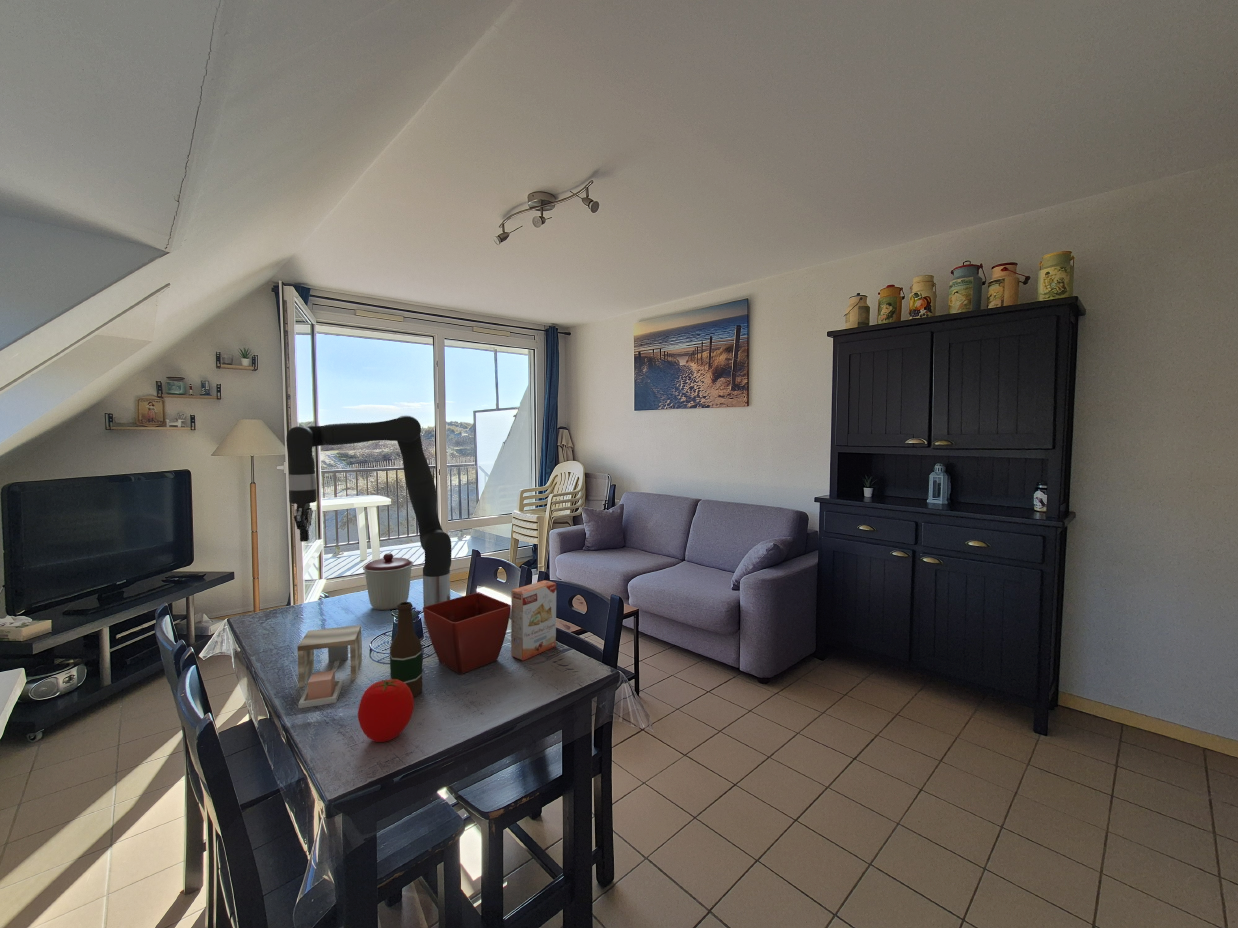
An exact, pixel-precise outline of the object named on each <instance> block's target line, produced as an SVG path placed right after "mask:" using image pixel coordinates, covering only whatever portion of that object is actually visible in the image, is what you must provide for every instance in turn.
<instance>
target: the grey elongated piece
mask: <svg viewBox="0 0 1238 928" xmlns="http://www.w3.org/2000/svg"><path fill="white" fill-rule="evenodd" d="M327 651H328V652H327V654H328V655H327V658H328V660H327V661H328V663H330V662H334V664H333V666H332V668H331V670H330V671H332V670H335V673H336V672H337V669H338V667H339V665H340V662H341V661H346V660H349V645H348V646H339V647H331V648H327ZM344 683H345V682H344V678H342V679H335V691H334V693H333V695H332V697H327V698H321V699H314V700H308V686H306V688H305V691H304V692H303V694H302V695H301V698H300V700H299V702H298V705H297V706H298V709H303V708H309V707H311V708H312V707H317V706H323V705H328V704H336V703H337V701H338V698H339V696H340V693H341V691H342V688H343V686H344Z"/></svg>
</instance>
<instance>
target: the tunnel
mask: <svg viewBox="0 0 1238 928" xmlns="http://www.w3.org/2000/svg"><path fill="white" fill-rule="evenodd" d="M362 643H363V642H362V625H361V624H355V625H349V626H339V627H329V628H319V629H313V630H307V632H306V633H305V635H304V637H302V639H301V640H300V642H299V643H298V645H297V646H296V647H297V671H298V673H297V674H298V675H297V676H298V688H302V687H303V688H304V687H305V686H306V684H307V683H308V681H309V679H310V677H311V675H312V673H313V671H314V669H315V650H322V649H328V648H331V647H339V646H348V647H349V649H350V650H349V653H350V654H349V655H350V659H349V661H350V680H355V679H357V677H358V674H359V672H360V668H361V666H362V663H363V647H362V646H363V644H362Z"/></svg>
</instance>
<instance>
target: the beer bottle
mask: <svg viewBox="0 0 1238 928" xmlns="http://www.w3.org/2000/svg"><path fill="white" fill-rule="evenodd" d="M412 608H413V604H412V602H411V601H407V602H402V603H400V604H398V606H397V608H396V609H397V610H398V611H397V629H396V634H395V636H394V638H393V639H392V640H391V643H390V647H389V672H390V676H389V677H390V678H389V679H397V680H400V681H402V682H404V683H405V684H406V685H407V686H408V687H409V688H410V690H411V692H412V695H413V698H416V697H417V696H418V695H419V694H421V692H422V691H423V659H422V658H423V651H422V650H423V649H422V643H421V640H420V639H419V638H420V637H418V635H417V634H416V633H415V629H414V622H413V613H412V610H413V609H412Z"/></svg>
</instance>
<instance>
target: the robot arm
mask: <svg viewBox="0 0 1238 928" xmlns="http://www.w3.org/2000/svg"><path fill="white" fill-rule="evenodd" d="M421 433H422V426H421V423H420V422H419V420H418V419H417V418H415V417H414V416H412V415H409V414H408V415H407V414H406V415H400V416H398V417H396V418H392V419H389V420H384V421H383V420H382V421H376V422H375V421H373V422H344V423H343V422H342V423H330V424H324V425H312V426H311V425H306V426H303V425H302V426H300V425H299V426H298V425H297V426H294V427H292V428H290V429H289V430H288V431H287V433H286V448H287V454H288V459H289V461H288V470H289V474H288V475H289V477H288V499H289V503H290V504H291V505H292V504H293V505H296V509H294V514H295V515H294V516H293V518H294V523H295V527H296V530H298V531H299V541H300V542H301V543H303V542H304V543H305V542H308V541H309V540H310V531H309V530H310V527H311V526H312V520H313V513H314V511H313V508H312V507H311V504H312V503H313V504H315V503H316V502H317V501H318V497H317V494H318V493H317V480H316V479H317V478H316V469H315V468H316V465H315V458H314V457H313V447H321V446H341V445H351V444H352V445H353V444H359V443H368V442H375V441H377V442H379V441H393V442H394V441H395V442H397V445H398V448H399V451H400V454H401V457H402V465H403V474H404V480H405V485H406V490H407V493H408V496H409V499H410V502H411V506H412V509H413V512H414V515H415V518H416V521H417V522H416V523H417V527H418V534H419V543H420V546H421V548H422V550H423V551H424V565H423V567H422V589H423V590H422V591H423V593H422V594H423V598H422V599H423V607H425V606H429V605H432V604H436V603H440V602H443V601H447V600H451V576H450V575H451V571H450V570H451V566H452V540H451V537H450V535H449V534H448V533H447V532H445V531H444V530H443V528H442V525H441V522H440V519H439V516H438V509H437V508H438V493H437V489H436V484H435V480H434V477H433V473H432V470H431V468H430V465H429V462H428V460H427V458H426V456H425V452H424V447H423V442H422V436H421ZM423 622H424V623H425V624H426V622H425V618H424V617H423Z"/></svg>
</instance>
